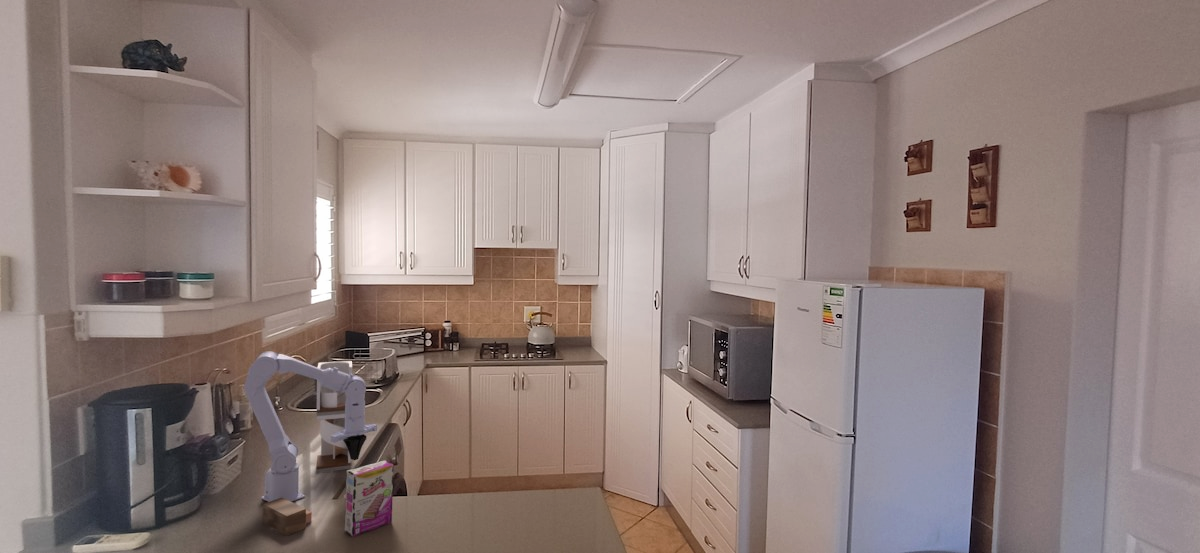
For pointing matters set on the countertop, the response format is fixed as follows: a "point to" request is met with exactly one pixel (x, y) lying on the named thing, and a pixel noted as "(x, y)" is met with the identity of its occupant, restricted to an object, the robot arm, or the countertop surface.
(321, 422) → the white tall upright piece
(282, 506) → the tan wooden box
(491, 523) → the countertop surface
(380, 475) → the candy bar box
